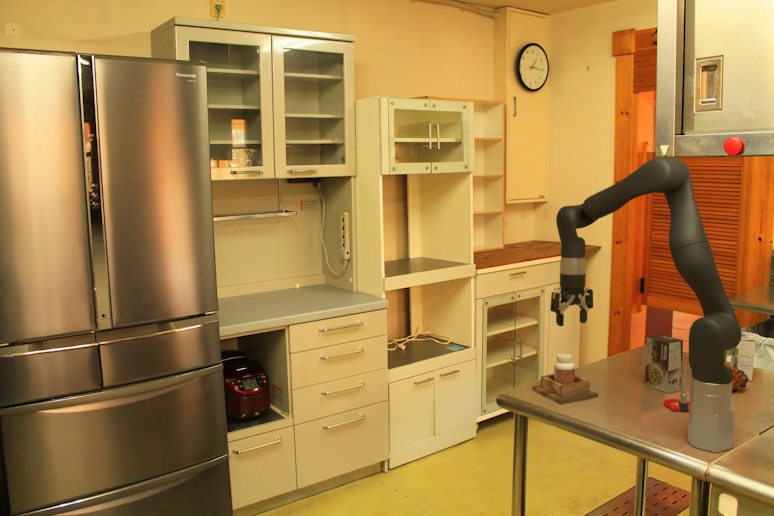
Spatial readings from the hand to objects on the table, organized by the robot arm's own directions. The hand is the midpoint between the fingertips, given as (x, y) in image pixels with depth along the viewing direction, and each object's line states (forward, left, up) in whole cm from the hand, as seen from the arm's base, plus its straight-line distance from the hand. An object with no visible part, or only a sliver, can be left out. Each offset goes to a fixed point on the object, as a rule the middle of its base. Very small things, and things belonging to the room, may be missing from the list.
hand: (571, 324), depth 200 cm
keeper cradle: (+1, +1, -22) cm, 22 cm away
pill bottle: (+1, +2, -21) cm, 21 cm away
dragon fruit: (-18, -46, -23) cm, 54 cm away
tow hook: (-22, -22, -23) cm, 38 cm away
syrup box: (-12, -60, -22) cm, 65 cm away
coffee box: (-8, -30, -22) cm, 38 cm away
